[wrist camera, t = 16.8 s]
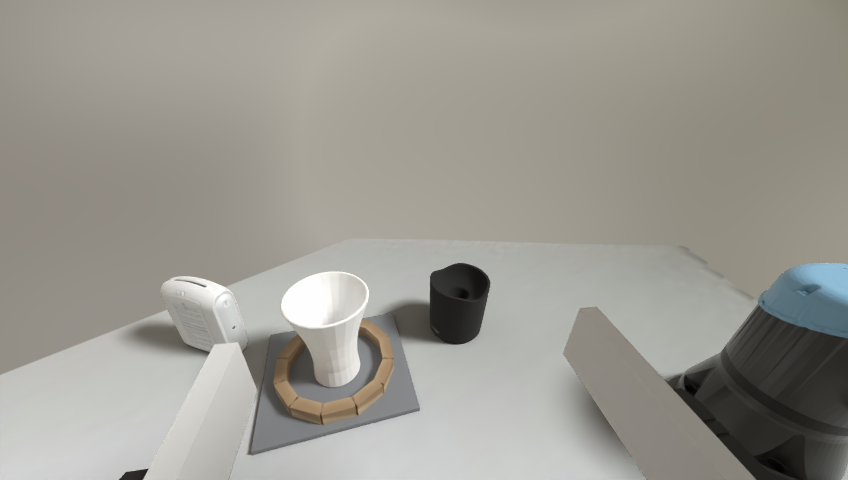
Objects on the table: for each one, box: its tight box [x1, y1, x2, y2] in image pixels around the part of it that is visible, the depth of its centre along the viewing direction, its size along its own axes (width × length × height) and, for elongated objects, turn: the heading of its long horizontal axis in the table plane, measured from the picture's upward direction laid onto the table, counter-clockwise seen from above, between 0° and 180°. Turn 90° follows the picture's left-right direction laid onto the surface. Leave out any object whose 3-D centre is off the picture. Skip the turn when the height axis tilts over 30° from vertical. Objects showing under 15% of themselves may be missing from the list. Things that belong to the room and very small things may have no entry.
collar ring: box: [273, 320, 394, 425], centre depth 45 cm, size 16×16×2 cm
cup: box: [281, 272, 369, 387], centre depth 42 cm, size 10×10×14 cm
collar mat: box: [251, 313, 420, 455], centre depth 46 cm, size 20×18×1 cm
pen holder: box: [430, 263, 490, 344], centre depth 52 cm, size 9×9×10 cm
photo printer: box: [160, 276, 249, 352], centre depth 46 cm, size 10×4×12 cm, turn 74°
